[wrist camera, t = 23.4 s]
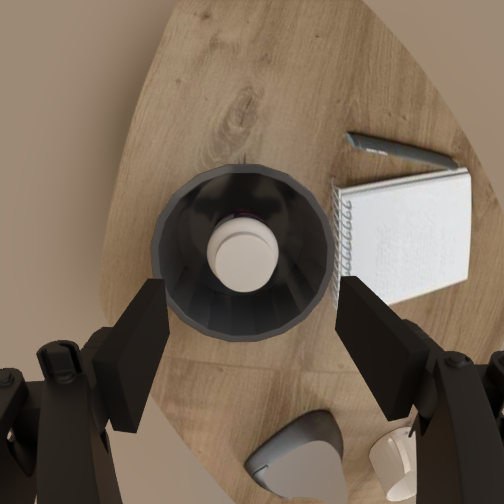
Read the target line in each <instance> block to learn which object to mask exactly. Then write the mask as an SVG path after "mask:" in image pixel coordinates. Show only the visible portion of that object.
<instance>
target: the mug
mask: <svg viewBox="0 0 504 504" xmlns="http://www.w3.org/2000/svg"><path fill="white" fill-rule="evenodd" d="M410 430H411V427H402V428H398V429H396V430H393V431H391V432H389V433H387V434H386V435H384V436H383V437H381V438H380V439H379V440H378V441H377V442H376V443H375V444H374V445H373V447H372V448H371V451H370V454H369V458H370V461H371V463H372V465H373V468H374V470H375V472H376V474H377V477H378V479H379V481H380V484H381V486H382V488H383V490H384V493H385V495H386V497H387V499H388V500H390V501H400V500H404V499H407V498H409V497H412V496H413V495H416V493H417V464H416V438H415V437H416V436H415V431H414V432H413V434H412V437H411V438H408V435H409V432H410Z"/></svg>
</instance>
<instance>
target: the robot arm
mask: <svg viewBox="0 0 504 504" xmlns="http://www.w3.org/2000/svg"><path fill="white" fill-rule="evenodd" d="M335 331H336V332H337V334H338V336H339V337H340V339H341V341H342V342H343V344H344V346H345V347H346V349H347V351H348V353H349V354H350V356H351V358H352V359H353V361H354V363H355V365H356V366H357V368H358V370H359V371H360V373H361V375H362V377H363V378H364V380H365V382H366V383H367V385H368V387H369V389H370V390H371V392H372V394H373V396H374V397H375V399H376V401H377V403H378V404H379V406H380V408H381V410H382V412H383V413H384V415H385V417H386V419H387V420H388V422H389V421H393V420H398V419H402V418H406V417H408V415H409V413H410V410H411V408H412V405H413V404H414V406H415V407H416V409H417V410H418V413H417V415H416V418H415V420H414V423H413V425H412V427H411V430H410V432H409V435H408V438H411V437H412V434H413V432H414V431H415V436H416V437H415V438H416V464H417V493H416V504H504V415H503V414H502V410H503V408H504V351H497V352H494V353H493V354H492V355H491V358H490V361H489V363H488V364H483V365H474V363H473V361H472V360H471V358H469V357H468V356H466V355H465V354H462V353H460V352H455V351H444V350H443V349H442V348H441V347H440V346H439V345H438V344H437V343H436V342H435V341H434V340H433V339H431V338H430V337H429V336H428V335H427V334H426V333H425V332H423V330H422V329H421V328H420V327H419V326H418V325H417V324H415V323H413V322H411V321H409V320H407V319H403V320H402V319H401V318H400V317H399V316H398V315H397V314H396V313H395V312H393V311H392V310H391V309H390V308H389V307H388V306H387V305H386V304H385V303H384V302H383V301H382V300H381V299H380V298H379V297H378V296H377V295H376V294H375V293H374V292H373V291H372V290H371V289H370V288H368V287H367V286H366V285H365V284H364V283H363V282H362V281H361V280H360V279H359V278H358V277H357V276H341V280H340V291H339V300H338V309H337V317H336V326H335ZM169 334H170V330H169V321H168V311H167V301H166V291H165V279H147V281H146V282H145V283H144V285H143V286H142V288H141V289H140V290H139V292H138V293H137V294H136V296H135V297H134V299H133V300H132V301H131V303H130V304H129V306H128V307H127V308H126V310H125V311H124V313H123V314H122V315H121V317H120V318H119V320H118V321H117V323H116V324H115V325H114V327H102V328H101V329H99V330H97V331H96V332H94V333H93V334H92V336H91V337H90V338H89V340H88V342H86V344H85V345H84V348H82V349H81V350H79V347H78V345H77V344H76V343H75V342H72V341H68V340H58V341H54V342H50V343H48V344H46V345H44V346H42V347H41V348H40V349H39V350H38V352H37V353H36V355H37V358H38V360H39V364H40V366H41V370H42V372H43V375H44V377H45V380H44V381H32V382H25V380H24V377H23V375H22V372H20V371H19V370H18V369H15V368H3V369H0V504H34V502H35V498H36V494H37V504H123V503H122V499H121V495H120V491H119V486H118V482H117V478H116V474H115V469H114V464H113V459H112V453H111V448H110V442H109V437H108V434H107V432H106V429H105V427H106V424H107V422H108V420H109V419H110V422H111V424H112V427H113V430H114V431H121V432H129V433H136V432H137V430H138V426H139V423H140V420H141V417H142V414H143V411H144V408H145V404H146V401H147V398H148V395H149V392H150V389H151V386H152V383H153V380H154V377H155V375H156V372H157V369H158V366H159V363H160V360H161V357H162V354H163V351H164V349H165V346H166V343H167V340H168V337H169ZM9 431H10V432H11V434H12V435H11V437H10V439H9V440H8V439H7V436H8V433H9Z"/></svg>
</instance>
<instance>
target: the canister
mask: <svg viewBox="0 0 504 504" xmlns="http://www.w3.org/2000/svg"><path fill="white" fill-rule="evenodd" d="M235 209H248V210H251V211H253V212H255V213H257V214H258V215H260V216H261V217H262V218H263V219H264V220H265V222H266V223H267V225H268V226H269V228H270V229H271V231H272V233H273V234H274V236H275V238H276V241H277V245H278V260H277V264H276V267H275V269H274V270H273V273H272V275H271V277H270V279H269V280H268V281H267V283H266V284H265V285H263V286H262V287H261V288H259V289H257V290H254V291H251V292H238V291H234V290H232V289H230V288H228V287H226V286H225V285H224V284H223V283H222V282H221V281H220V279H219V278H217V276H216V275H215V274H214V273H213V271H212V270H211V268H210V266H209V263H208V258H207V247H208V242H209V240H210V237H211V234H212V231H213V229H214V226H215V224H216V223H217V221H218V220H219V219H220V217H221V216H223V215H224V214H225V213H227V212H229V211H231V210H235ZM150 249H151V262H152V274H153V277H154V279H165V291H166V301H167V305H168V306H169V307H170V308H171V309H172V310H173V312H174V313H175V314H176V315H177V316H178V317H179V319H180V320H182V321H183V322H184V323H186V324H187V325H189V326H191V327H192V328H194V329H195V330H197V331H199V332H200V333H202V334H205V335H206V336H209V337H213V338H217V339H220V340H224V341H228V342H257V341H261V340H264V339H267V338H271V337H274V336H277V335H280V334H283V333H285V332H287V331H288V330H290V329H291V328H293V327H294V326H296V325H297V324H299V323H300V322H302V321H303V320H304V319H306V318H307V316H308V315H309V314H310V313H311V312H312V310H313V309H314V308H315V307H316V305H317V304H318V303H319V302H320V301H321V299H322V298H323V296H324V294H325V291H326V289H327V286H328V284H329V282H330V279H331V277H332V274H333V269H334V256H335V241H334V237H333V233H332V230H331V226H330V222H329V218H328V216H327V214H326V213H325V211H324V210H323V208H322V207H321V205H320V204H319V202H318V201H317V199H316V198H315V196H314V195H313V193H312V192H311V191H309V190H308V189H307V188H306V187H304V186H303V185H302V184H300V183H299V182H298V181H297V180H295V179H294V178H293V177H291V176H290V175H288V174H286V173H283V172H280V171H278V170H275V169H272V168H269V167H266V166H263V165H259V164H228V165H224V166H221V167H218V168H215V169H212V170H209V171H206V172H204V173H201V174H199V175H197V176H196V177H194V178H193V179H192V180H190V181H189V182H188V183H186V184H185V185H184V186H182V187H181V188H180V189H179V190H177V191H176V192H175V193H174V194H173V195H172V197H171V198H170V200H169V201H168V203H167V204H166V206H165V207H164V209H163V210H162V212H161V214H160V215H159V217H158V219H157V222H156V226H155V230H154V234H153V238H152V242H151V247H150Z"/></svg>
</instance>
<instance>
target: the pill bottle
mask: <svg viewBox="0 0 504 504" xmlns="http://www.w3.org/2000/svg"><path fill="white" fill-rule="evenodd" d="M207 258H208V263H209V266H210V268H211V270H212V271H213V273H214V274H215V275H216V276H217V278H219V279H220V281H221V282H222V283H223V284H224V285H225V286H226V287H228V288H230V289H232V290H234V291H238V292H251V291H254V290H257V289H259V288H261V287H262V286H263V285H265V284H266V283H267V281H268V280H269V279H270V277H271V275H272V273H273V270H274V269H275V267H276V264H277V260H278V245H277V241H276V238H275V236H274V234H273V233H272V231H271V229H270V228H269V226H268V225H267V223H266V222H265V220H264V219H263V218H262V217H261V216H260V215H258V214H257V213H255V212H253V211H251V210H248V209H235V210H231V211H229V212H227V213H225V214H224V215H223V216H221V217H220V219H219V220H218V221H217V223H216V224H215V226H214V229H213V231H212V234H211V237H210V240H209V242H208V247H207Z"/></svg>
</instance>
